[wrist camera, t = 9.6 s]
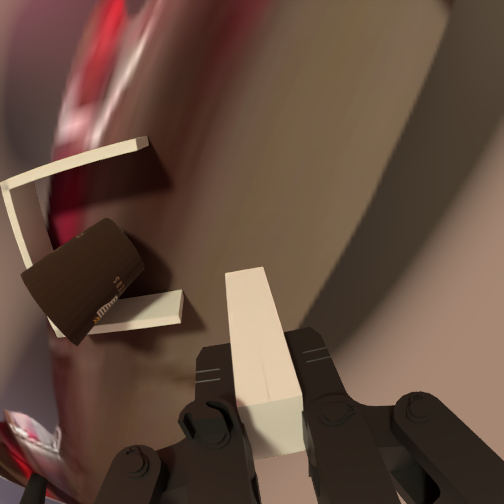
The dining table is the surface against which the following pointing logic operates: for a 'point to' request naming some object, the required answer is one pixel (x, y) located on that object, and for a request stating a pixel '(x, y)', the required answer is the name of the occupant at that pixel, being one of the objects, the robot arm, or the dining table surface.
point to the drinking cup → (35, 490)
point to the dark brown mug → (84, 278)
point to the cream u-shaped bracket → (38, 246)
